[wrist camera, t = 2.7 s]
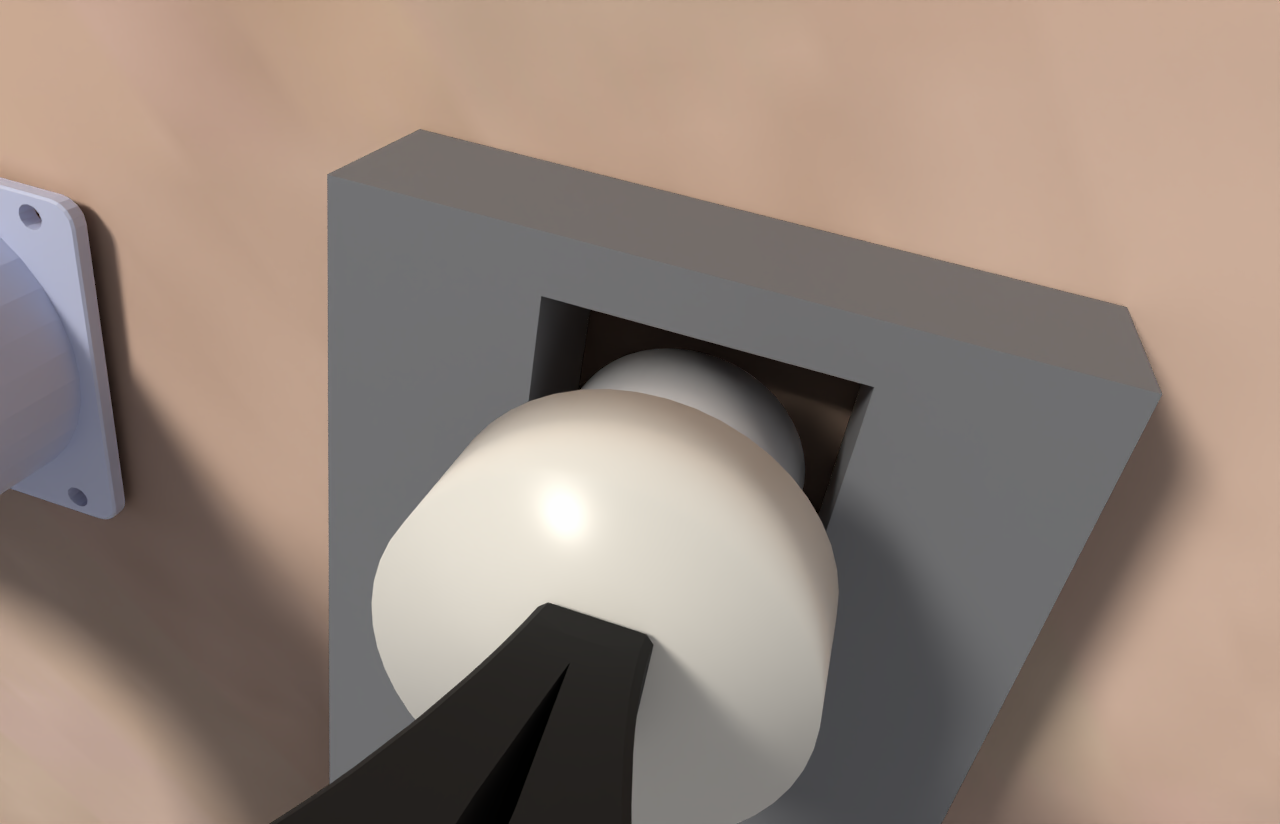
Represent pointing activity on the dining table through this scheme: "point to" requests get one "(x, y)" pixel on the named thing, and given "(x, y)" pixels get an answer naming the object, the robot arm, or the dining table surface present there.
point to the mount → (762, 325)
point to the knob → (637, 570)
